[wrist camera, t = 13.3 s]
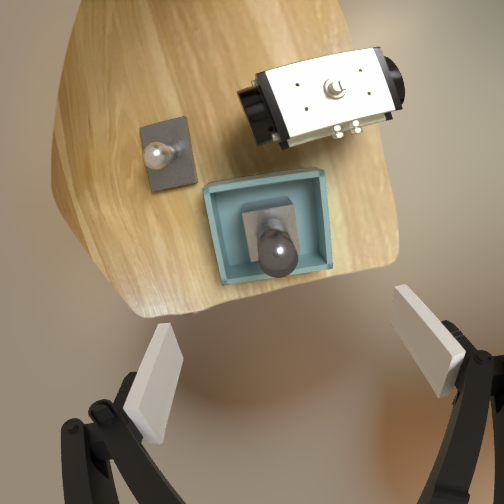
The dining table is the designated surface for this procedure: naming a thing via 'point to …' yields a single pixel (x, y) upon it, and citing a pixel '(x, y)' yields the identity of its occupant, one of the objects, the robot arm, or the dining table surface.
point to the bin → (264, 187)
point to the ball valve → (322, 97)
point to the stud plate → (183, 150)
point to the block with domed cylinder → (272, 235)
